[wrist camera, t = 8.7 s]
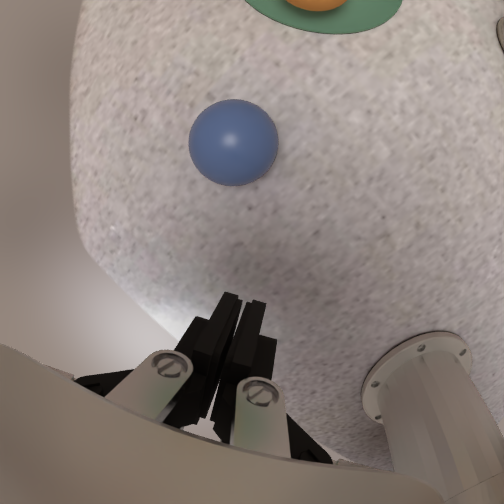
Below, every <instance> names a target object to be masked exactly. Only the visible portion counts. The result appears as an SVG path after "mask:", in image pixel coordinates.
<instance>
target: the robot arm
mask: <svg viewBox="0 0 504 504" xmlns="http://www.w3.org/2000/svg"><path fill="white" fill-rule="evenodd" d="M242 301H243V300H240V299H238V295H235V294H232V293H228V292H224V294H223V296H222V298H221V299H220V301H219V303H218V305H217V307H216V309H215V310H214V312H213V314H212V316H211V318H210V319H209V320H207V319H204V318H201V317H198V316H196V317H195V318H194V320H193V321H192V323H191V324H190V326H189V327H188V329H187V331H186V332H185V334H184V335H183V337H182V338H181V340H180V341H179V343H178V345H177V346H176V348H175V349H174V351H173V350H159V351H156V352H154V353H152V354H151V355H149V356H148V357H147V358H146V359H145V360H144V361H143V362H142V363H141V364H140V365H139V366H138V367H137V368H135V369H132V370H125V371H119V372H112V373H104V374H97V375H89V376H84V377H80V378H78V379H75V378H74V375H73V374H70V373H67V372H64V371H61V370H58V369H55V368H52V367H50V366H47V365H44V364H42V363H40V362H38V361H37V360H35V359H33V358H31V357H30V356H27V355H26V354H24V353H22V352H20V351H18V350H16V349H13V348H11V347H9V346H6V345H4V344H0V504H504V437H503V435H502V434H501V432H500V430H499V428H498V426H497V424H496V422H495V420H494V418H493V416H492V415H491V413H490V411H489V409H488V407H487V406H486V404H485V402H484V400H483V399H482V397H481V395H480V393H479V392H478V390H477V388H476V387H475V385H474V383H473V382H472V380H471V378H470V377H469V374H470V371H471V367H472V355H471V351H470V349H469V347H468V346H467V344H466V343H465V342H464V341H463V339H462V338H460V337H459V336H457V335H456V334H453V333H449V332H432V333H426V334H423V335H420V336H417V337H414V338H412V339H410V340H408V341H406V342H404V343H402V344H400V345H399V346H397V347H396V348H394V349H392V350H391V351H390V352H389V353H388V354H386V355H385V356H384V357H383V358H382V359H381V360H380V361H379V362H378V363H377V364H376V365H375V366H374V367H373V369H372V370H371V371H370V373H369V374H368V376H367V378H366V380H365V382H364V384H363V388H362V392H361V400H362V404H363V409H364V411H365V413H366V415H367V416H368V417H369V418H370V419H372V420H374V421H375V422H377V423H380V424H383V425H384V429H385V433H386V437H387V441H388V445H389V450H390V454H391V458H392V463H393V468H394V472H392V471H385V470H380V469H376V468H372V467H368V466H364V465H360V464H357V463H353V462H349V461H346V460H343V459H339V460H338V461H334V460H332V459H331V457H330V456H329V454H328V453H327V452H326V451H325V450H324V449H323V448H322V447H321V446H320V445H318V444H317V443H316V442H315V441H314V440H313V439H312V438H311V437H310V436H309V435H308V434H307V433H306V432H305V431H304V430H303V429H302V428H301V427H300V426H299V425H298V424H297V423H296V422H295V421H294V420H293V419H292V418H291V417H290V416H289V415H288V414H287V413H286V408H285V399H284V394H283V391H282V390H281V388H280V387H279V386H278V385H277V384H276V383H274V382H273V381H271V379H272V372H273V365H274V359H275V352H276V345H277V339H273V338H269V337H266V336H262V335H259V333H260V328H261V324H262V320H263V316H264V312H265V307H266V303H264V302H260V301H256V300H253V301H252V303H250V302H246V305H245V308H244V310H243V313H242V316H241V319H240V321H239V324H238V327H237V329H236V325H237V321H238V317H239V313H240V309H241V305H242ZM235 329H236V332H235ZM234 333H235V335H234ZM219 381H220V382H219ZM218 383H219V386H218ZM217 386H218V390H217V394H216V398H215V402H214V406H213V410H212V414H211V417H210V420H211V421H214V422H215V424H214V427H213V430H214V431H215V433H216V434H217V435H218V437H219V438H220V439H221V440H220V442H218V441H215V440H211V439H208V438H205V437H202V436H198V435H195V434H192V433H189V432H186V431H184V430H183V429H184V426H187V425H191V424H195V425H197V423H198V421H199V418H200V417H201V418H204V419H205V418H206V416H207V413H208V410H209V408H210V405H211V402H212V400H213V397H214V394H215V391H216V389H217Z"/></svg>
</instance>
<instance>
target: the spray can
mask: <svg viewBox="0 0 504 504" xmlns="http://www.w3.org/2000/svg"><path fill="white" fill-rule="evenodd" d="M497 33H498V37H499V41H500V43H501V45H502V47H503V50H504V17H502V18H501V19H500V20H499V21H498V25H497Z"/></svg>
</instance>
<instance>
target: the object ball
mask: <svg viewBox="0 0 504 504" xmlns="http://www.w3.org/2000/svg"><path fill="white" fill-rule="evenodd" d="M287 1H288V2H289V3H291V4H292V5H294V6H296V7H299V8H301V9H305V10H309V11H327V10H331V9H334V8H336V7H339V6H340V5H342V4H343V3H344V2H346V1H347V0H287Z"/></svg>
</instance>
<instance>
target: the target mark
mask: <svg viewBox="0 0 504 504" xmlns="http://www.w3.org/2000/svg"><path fill="white" fill-rule="evenodd" d="M245 1H246V2H248V3H249V4H250V5H251V6H252V7H253V8H255V9H256V10H258V11H259V12H260V13H262V14H264V15H265V16H267V17H269V18H271V19H273V20H275V21H277V22H280V23H282V24H285V25H288V26H291V27H294V28H297V29H301V30H305V31H310V32H317V33H326V34H349V33H357V32H362V31H366V30H369V29H372V28H375V27H377V26H379V25H381V24H383V23H385V22H386V21H387V20H389V19H390V18H391V17H392V16H393V15H394V14H395V13H396V12H397V10H398V9H399V7H400V5H401V3H402V0H347V1H346V2H344V3H343V4H342V5H340V6H339V7H336V8H334V9H331V10H327V11H309V10H305V9H301V8H299V7H296V6H294V5H292V4H291V3H289V2H288V1H287V0H245Z"/></svg>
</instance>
